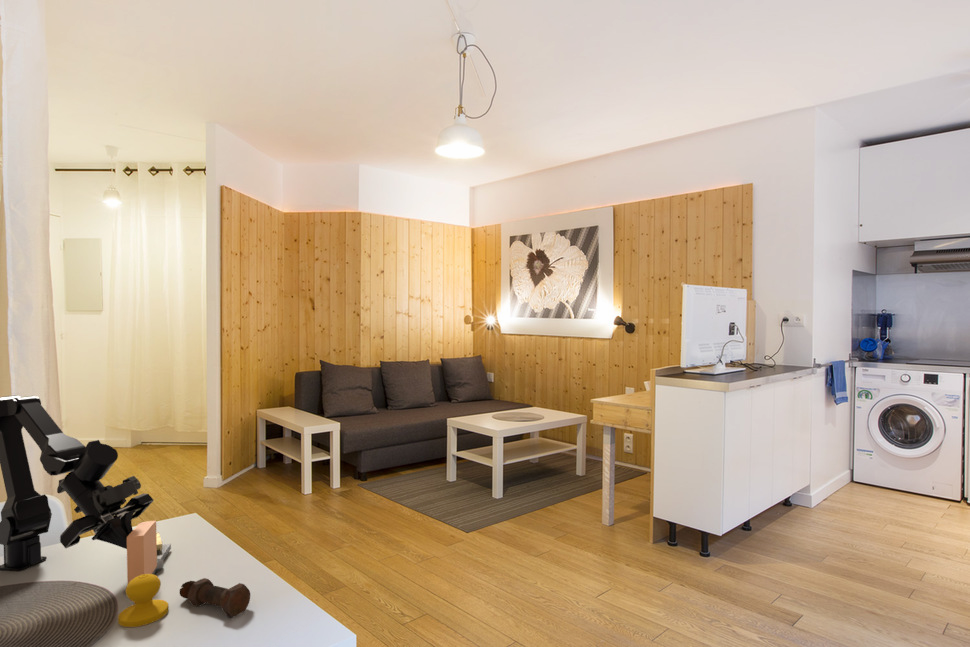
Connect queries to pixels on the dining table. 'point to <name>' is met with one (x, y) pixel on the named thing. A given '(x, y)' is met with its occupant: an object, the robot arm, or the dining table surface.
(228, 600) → the bolt
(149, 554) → the peach block with bar
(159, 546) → the keeper
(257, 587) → the dining table surface
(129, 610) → the doorknob
